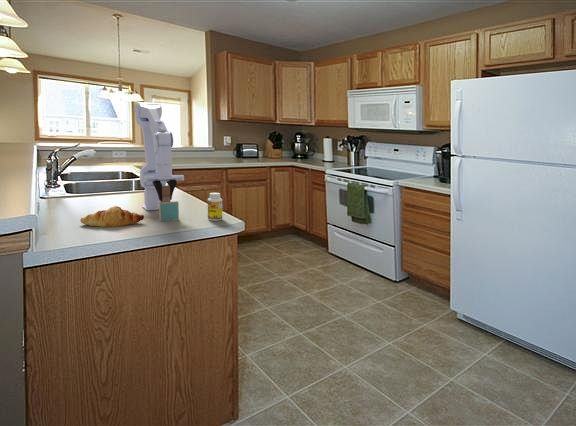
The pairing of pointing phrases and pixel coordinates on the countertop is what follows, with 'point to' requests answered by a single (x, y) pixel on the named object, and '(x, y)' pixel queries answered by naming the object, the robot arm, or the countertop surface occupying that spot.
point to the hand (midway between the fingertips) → (165, 199)
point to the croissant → (112, 218)
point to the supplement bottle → (215, 207)
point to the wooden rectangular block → (165, 193)
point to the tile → (168, 211)
